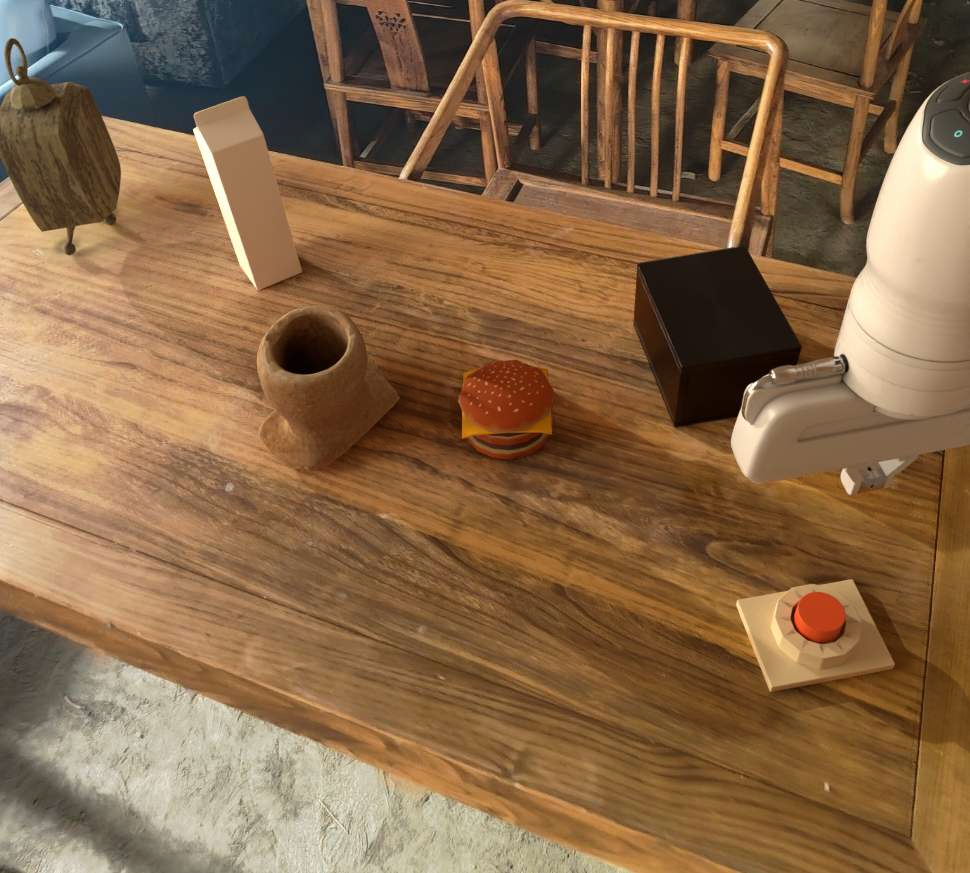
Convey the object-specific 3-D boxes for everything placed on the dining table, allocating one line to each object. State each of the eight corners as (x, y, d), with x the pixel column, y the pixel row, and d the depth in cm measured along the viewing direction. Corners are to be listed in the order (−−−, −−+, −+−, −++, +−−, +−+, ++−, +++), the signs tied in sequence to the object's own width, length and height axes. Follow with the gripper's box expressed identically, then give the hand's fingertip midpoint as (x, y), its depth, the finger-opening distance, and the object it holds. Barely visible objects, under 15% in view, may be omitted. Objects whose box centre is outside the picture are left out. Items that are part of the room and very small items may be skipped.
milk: (240, 266, 115) (181, 102, 98) (284, 247, 117) (234, 83, 100) (258, 292, 111) (201, 126, 95) (304, 272, 113) (255, 106, 97)
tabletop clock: (69, 201, 127) (-19, 20, 108) (135, 190, 128) (59, 8, 109) (56, 265, 118) (-43, 80, 99) (127, 253, 118) (43, 67, 99)
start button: (829, 599, 75) (834, 587, 74) (848, 638, 73) (853, 627, 71) (786, 607, 75) (790, 595, 73) (804, 646, 72) (808, 635, 71)
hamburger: (559, 457, 91) (558, 412, 86) (462, 465, 92) (455, 420, 87) (552, 388, 97) (550, 342, 92) (461, 395, 98) (454, 350, 93)
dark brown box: (633, 324, 103) (637, 263, 96) (734, 307, 103) (745, 245, 97) (674, 427, 93) (681, 366, 86) (786, 408, 93) (802, 346, 87)
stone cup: (325, 500, 90) (289, 394, 79) (247, 444, 95) (203, 337, 84) (431, 408, 97) (412, 298, 85) (353, 360, 102) (325, 251, 91)
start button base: (847, 592, 79) (857, 566, 76) (888, 677, 74) (902, 653, 71) (733, 613, 79) (739, 588, 76) (767, 700, 73) (775, 677, 70)
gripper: (767, 413, 53) (737, 547, 64) (1106, 351, 54) (1022, 493, 65) (730, 339, 57) (708, 476, 68) (1046, 283, 58) (976, 427, 69)
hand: (863, 484), depth 66 cm, fingers closed
